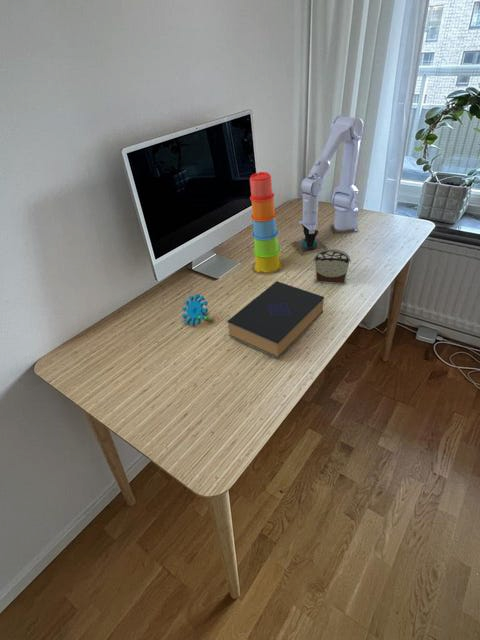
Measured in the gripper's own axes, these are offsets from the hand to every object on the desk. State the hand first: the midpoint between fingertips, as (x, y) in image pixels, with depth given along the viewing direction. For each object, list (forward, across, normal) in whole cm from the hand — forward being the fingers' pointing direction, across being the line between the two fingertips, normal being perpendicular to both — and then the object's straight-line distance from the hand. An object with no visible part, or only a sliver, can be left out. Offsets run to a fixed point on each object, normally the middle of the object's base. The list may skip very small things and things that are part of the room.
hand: (309, 242), depth 153 cm
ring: (+1, 0, 0) cm, 1 cm away
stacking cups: (+2, +15, -17) cm, 23 cm away
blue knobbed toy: (+2, +46, -40) cm, 61 cm away
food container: (+2, +25, +5) cm, 26 cm away
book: (+2, +51, -15) cm, 53 cm away
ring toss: (+2, 0, 0) cm, 2 cm away
